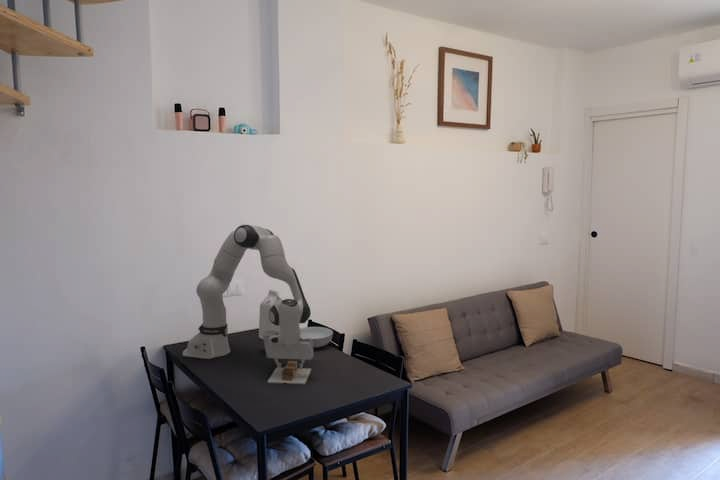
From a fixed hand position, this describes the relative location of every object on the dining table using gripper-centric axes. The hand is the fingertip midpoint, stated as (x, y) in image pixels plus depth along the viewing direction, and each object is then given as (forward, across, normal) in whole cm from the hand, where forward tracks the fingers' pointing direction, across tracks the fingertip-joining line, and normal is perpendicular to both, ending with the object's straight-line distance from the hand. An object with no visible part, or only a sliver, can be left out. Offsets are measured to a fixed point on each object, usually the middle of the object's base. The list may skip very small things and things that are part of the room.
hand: (290, 368), depth 214 cm
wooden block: (+3, 0, 0) cm, 3 cm away
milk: (+4, +20, -52) cm, 56 cm away
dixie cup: (+4, +16, -30) cm, 34 cm away
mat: (+4, 0, 0) cm, 4 cm away
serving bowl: (+4, -3, -42) cm, 42 cm away
